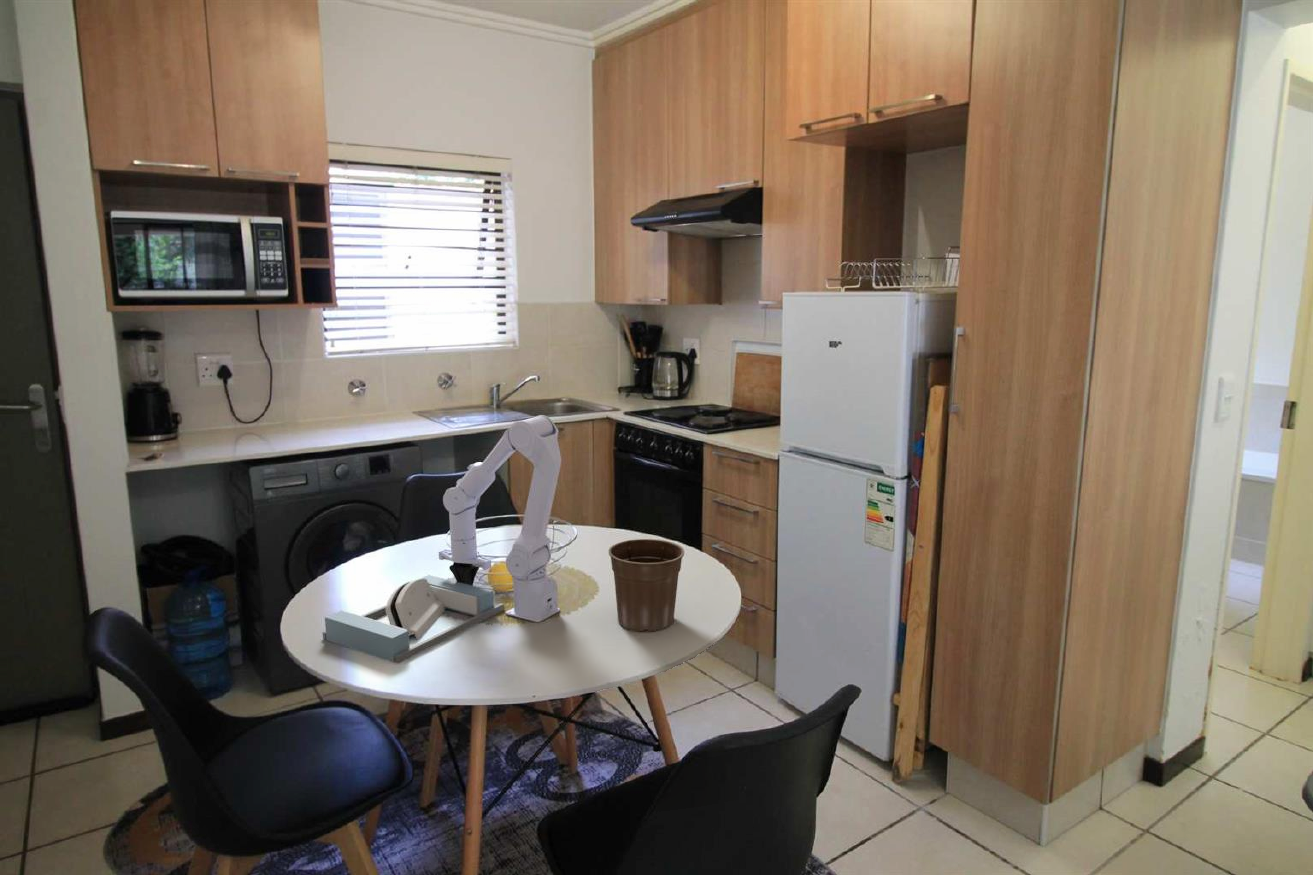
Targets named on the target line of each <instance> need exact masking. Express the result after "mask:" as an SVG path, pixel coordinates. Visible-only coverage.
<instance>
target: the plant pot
mask: <svg viewBox="0 0 1313 875" xmlns="http://www.w3.org/2000/svg"><path fill="white" fill-rule="evenodd" d="M607 552H608V556H610V562H611V563H610V564H611V570H612V572H613V577H614V578H613V579H614V580H613V581H614V589H615V600H616V611H617V621H618V623H619V625H621V626H622V627H623V628H624V629H628V630H631V631H636V632H643V631H644V630H647V631H649V632H656V631H661V630H664V629H667V628H669V627H670V626H671V625H673V623H674V621H675V620H674V619H675V610H676V601H677V600H676V599H677V593H678V592H677V591H678V590H677V589H678V583H679V582H678V581H679V573H680V572H681V569H682V568H681V567H682V562H683V557H684V555H685V549H684V547H682V546H681V545H679V544H678V543H674V542H672V541H668V540H663V539H655V538H654V539H652V538H650V539H649V538H643V539H642V538H639V539H638V538H637V539H630V540H629V539H628V540H623V541H619V542H617V543H615V544H613V545H612V546H610V547H609V548H608V551H607Z"/></svg>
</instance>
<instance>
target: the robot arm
mask: <svg viewBox="0 0 1313 875" xmlns="http://www.w3.org/2000/svg"><path fill="white" fill-rule="evenodd" d="M559 431H560V430H559V429H558V427H557V426H556V424H555V423H554V422H553V420H552V419H551V418H550V417H548V416H546V415H544V414H540V415H536V416H534V417H531V418H530V417H529V418H527V419H524V420H517V421H515V422H514V423H512V424H511V425H510V427H509V428H508V429H506V430H505V431H504V433H503V435H502V437H501V438H500V439H499V440H498V442H496V445H495V446H494V447H493V449H491V451H490V453H489V454H488V455H487V456H486V458H485V459H484V460H483V462H480V461H479V462H475V463H472V464H469V465H468V466H467V467H466V468H467V470H468V471H467V472H466V473H465V474H464V476H462V477H461V478H459V479H458V480H457V481H455V482H456V483H455V487H450V488H447V489H446V490H445V491H444V492H445V493H444V494H443V497H442V502H443V503H442V504H443V506H444V508H445V510H447V512H448V513H449V514H448V515H449V519H448V520H449V535H450V536H449V537H450V549H445V548H444V549H442V550H439V551H438V560H441V561H444V560H446V561H450V562H453V563H452V564H451V565H449V571H450V572H451V573H452V575H453V576H454V579H455V580H456V582H460V583H464V584H468V585H472V586H474V582H475V578H476V576H477V573H478V571H479V569H480V568H481V569H482V570H485V571H487V570H489V569H491V568H492V559H490V558H487V557H485V556H483V555H482V554H480V551H479V550H478V547H477V545H478V544H477V527H476V525H477V523H476V513H477V507H478V505H479V503H480V501H481V496H482V495H483V494H484V493H485V491H486V490H488V488H489V487H490V486H491V485H492V484H493V482H494V481H495V480H496V471H497V470H498V469H499V468H500V467H501V466H502V465H503V464H504V463H505V462H506V461H507V460H508V459H509V458H510V457H511V456H512V455H513V454H514V453H515V452H516V451H518V452H519V453H520V454H522V455H523V456H524V457H525V458H526V459H527V460H528V461H529V462H531V463H532V465H533V466H534V467H533V471H532V478H531V482H530V487H529V492H528V496H527V502H526V505H525V506H526V507H525V511H524V516H523V522H522V527H521V531H520V533H519V535H518V536H517V538H516V540H515V541H514V542H513V544H512V548H511V550H510V552H509V553H508V554H507V556H506V558H505V567H506V570H507V571H508V573H509V574H510V575H511V578H512V588H513V590H512V593H513V607H512V608H510V609H509V610H507V611H505V615H507V616H511V617H515V618H519V619H523V620H526V621H532V622H535V623H540V622H542V621H544V620H546V619H547V618H549V617H551V616H553V615H555V614H557V613H558V612H560V611H561V608H560V607H559V601H558V600H559V598H558V597H559V596H558V594H559V592H558V583H557V581H556V580H555V579H554V578H551V577H550V576H548V575H547V573H546V571H547V565H548V563H550V560H551V558H552V553H551V552H552V551H551V546H550V544H551V538H550V537H549V536H548V535H547V532H548V531H547V530H548V526H549V522H550V517H551V512H552V508H553V503H554V499H555V494H556V488H557V484H558V479H559V475H560V471H561V465H562V456H561V450H560V446H559V441H558V436H559Z"/></svg>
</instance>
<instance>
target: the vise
mask: <svg viewBox="0 0 1313 875" xmlns="http://www.w3.org/2000/svg"><path fill="white" fill-rule="evenodd" d="M385 608H386V605H384V606H382V607H379V608H377V609H374V610H372V611H369V612H368V613H365V614H362V615H360V614H355V613H352V612H349V611H344V610H339V611H337V612H334V613H331V614H329V615H326V616H325V617H324V626H325V630H324V631H322V638H323V639H322V640H325V639H326V641H329V642H331V643H334V642H335V643H334V644H338V645H341V646H343V647H347V648H349V649H352V650H356V651H358V652H362V653H365V654H367V655H370V656H373V657H376V658H379V659H383V660H385V661H387V662H391V663H395V664H400V663H403V662H404V661H406V660H408V659H411V658H412V657H414V656H416V655H418V654H420V653H422V652H424V651H426V650H428V649H430V648H432V647H434V646H436V645H438V644H440V643H441V642H444V641H446V640H448V639H450V638H452V637H454V636H456V635H457V634H460V633H462V632H464V631H466V630H468V629H470V628H471V627H473V626H475V625H478V624H480V623H482V622H484V621H486V620H487V619H490V618H491V617H493V616H495V615H497V614H499V613H501V612H504V611H505V603H498V604H497V605H495V606H494V607H492V608H490V609H488V610H486V611H484V612H482V613H480V614H478V615H476V616H472V617H470V618H468V619H466V620H463V621H462V622H459V623H458V624H456V625H454V626H452V627H450V628H448V629H445V630H444V631H442V632H440V633H438V634H436V635H434V636H431V637H429V638H428V639H425V640H423V641H421V642H420V643H416V644H415V645H413V646H411V647H410V635H409V632H408V630H406V629H403V628H400V627H396V626H393V625H390V623H387V622H383V621H378V620H376V619H377V618H379V617H382V616H384V615H387V613H386V610H385Z"/></svg>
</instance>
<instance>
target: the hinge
mask: <svg viewBox="0 0 1313 875" xmlns="http://www.w3.org/2000/svg"><path fill="white" fill-rule="evenodd" d="M418 579H419V580H418ZM418 579H414V580H411V581H408V582H406V583H403V584H402V585H401V586H399V587H397V588H396V589H395V590H394V591H393V593H391V595H390V597H389V598H388V600H387V603H386V605H385V606H386V608H385V610H386V613H387V614H386V615H387V619H388V622H389V624H390V625H393V626H396V627H400V628H403V629H406V630H408V632H409V636H412V635H414V637H415V640H418V641H419V640H420V639H421V638H422V637H423V636H424V635H425V634H426V633H427V631H428V630H429V629H430V628H431V626H433V625H434V623H435V622H436V621H437V620H438V619H439V618H440V617H441V615H442V614H443V613H445V611H446V610H445V609H446V608H445V606H444V605H443V602H441V601H439V600H437V599H436V597H435V595H434V593H433V591H432V589H431V587H430V585H429V583H428V581H427V580H426V579H420V578H418Z"/></svg>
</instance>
